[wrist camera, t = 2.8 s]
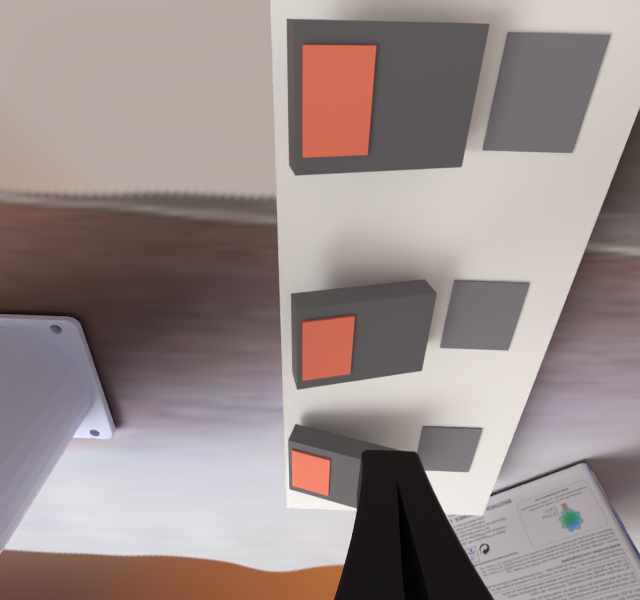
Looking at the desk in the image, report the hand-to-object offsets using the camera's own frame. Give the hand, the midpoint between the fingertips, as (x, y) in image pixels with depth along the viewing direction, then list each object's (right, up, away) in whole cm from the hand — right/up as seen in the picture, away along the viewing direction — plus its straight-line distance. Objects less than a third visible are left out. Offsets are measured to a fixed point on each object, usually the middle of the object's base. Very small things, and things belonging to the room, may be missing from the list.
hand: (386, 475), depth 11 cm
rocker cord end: (0, +10, +1) cm, 10 cm away
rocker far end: (0, -3, +10) cm, 10 cm away
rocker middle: (0, +4, +5) cm, 6 cm away
